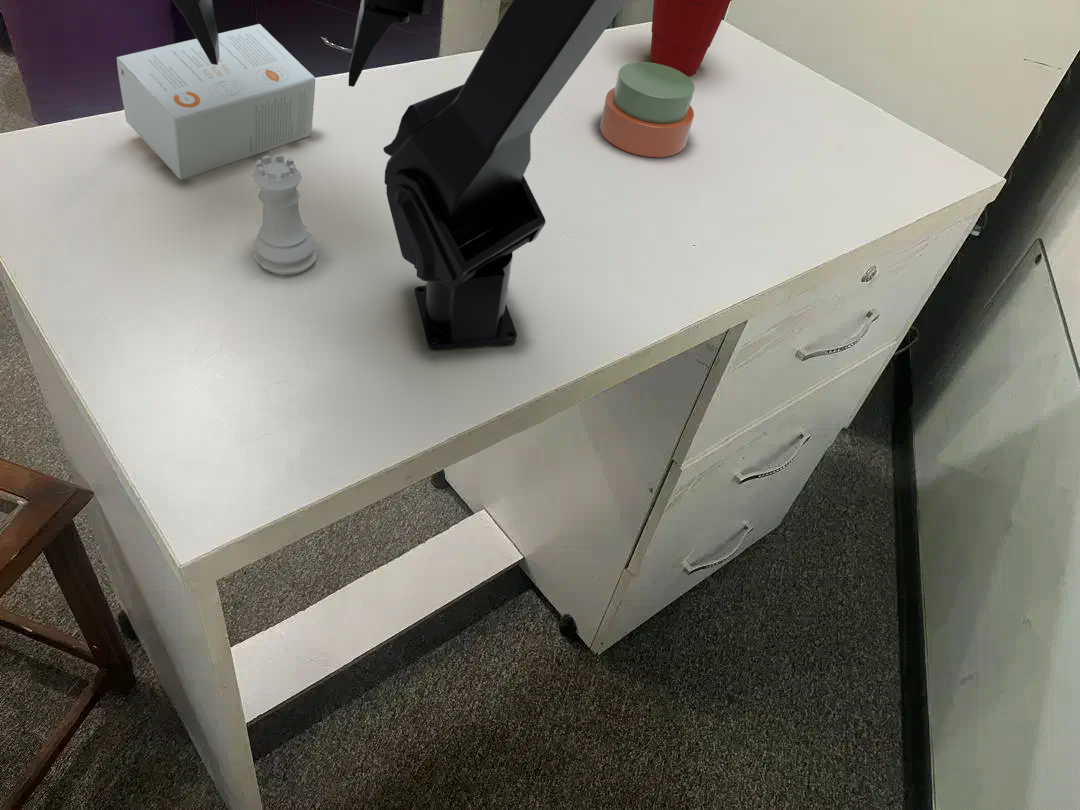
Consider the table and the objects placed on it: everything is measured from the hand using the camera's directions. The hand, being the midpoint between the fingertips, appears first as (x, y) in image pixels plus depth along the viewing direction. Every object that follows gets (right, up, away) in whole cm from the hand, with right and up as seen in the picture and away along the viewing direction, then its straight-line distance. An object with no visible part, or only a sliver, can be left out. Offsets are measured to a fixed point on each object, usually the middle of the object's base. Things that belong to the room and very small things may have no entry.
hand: (284, 72), depth 55 cm
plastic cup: (+34, +17, +38) cm, 54 cm away
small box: (-4, +5, +14) cm, 16 cm away
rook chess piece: (-1, -13, +4) cm, 13 cm away
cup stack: (+29, +4, +25) cm, 38 cm away
